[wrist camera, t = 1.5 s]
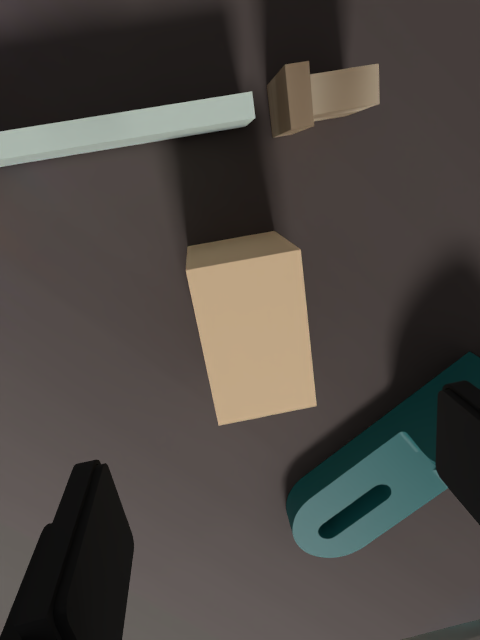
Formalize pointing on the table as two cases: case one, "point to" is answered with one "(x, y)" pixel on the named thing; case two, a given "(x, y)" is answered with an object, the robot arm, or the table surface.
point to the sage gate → (125, 128)
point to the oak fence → (318, 95)
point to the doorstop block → (252, 325)
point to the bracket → (375, 474)
